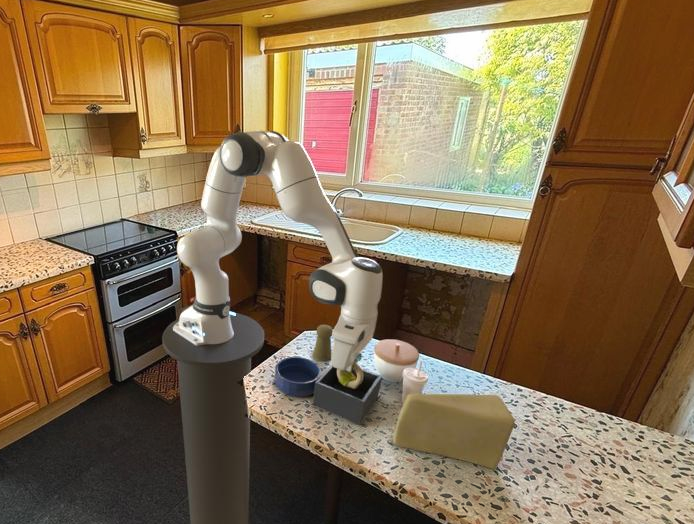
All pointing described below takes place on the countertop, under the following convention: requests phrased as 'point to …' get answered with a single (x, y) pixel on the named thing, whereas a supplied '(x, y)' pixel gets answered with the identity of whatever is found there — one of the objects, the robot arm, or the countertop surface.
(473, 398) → the cheese
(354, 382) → the rattle
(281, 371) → the toy bowl
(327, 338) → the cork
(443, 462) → the countertop surface
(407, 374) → the smoothie
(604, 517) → the countertop surface
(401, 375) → the lidded bowl
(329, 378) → the bin
